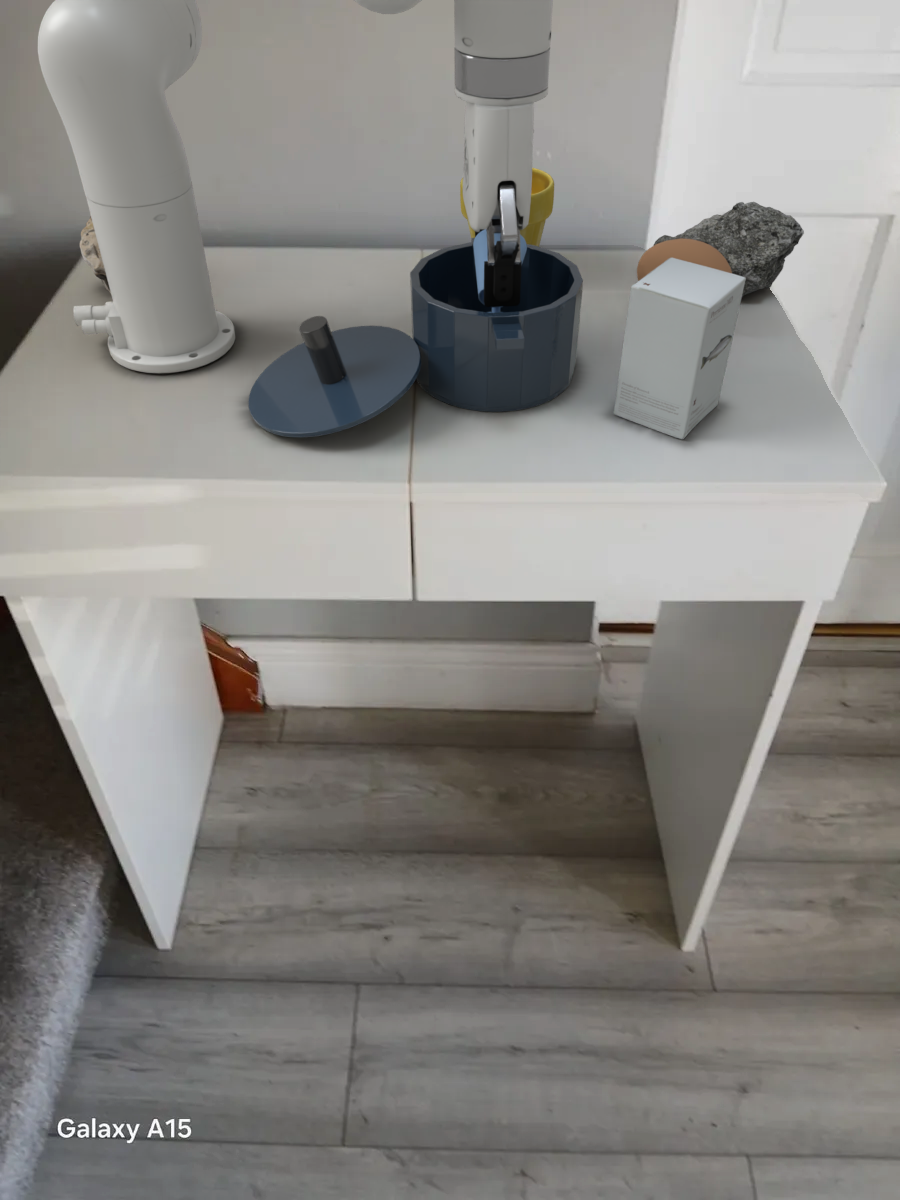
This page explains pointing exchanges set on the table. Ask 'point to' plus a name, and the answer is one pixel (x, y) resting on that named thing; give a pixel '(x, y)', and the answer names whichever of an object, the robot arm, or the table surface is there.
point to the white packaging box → (677, 345)
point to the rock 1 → (93, 252)
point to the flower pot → (538, 207)
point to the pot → (495, 331)
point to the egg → (681, 255)
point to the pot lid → (334, 379)
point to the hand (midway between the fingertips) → (496, 284)
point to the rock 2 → (749, 241)
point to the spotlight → (481, 256)
